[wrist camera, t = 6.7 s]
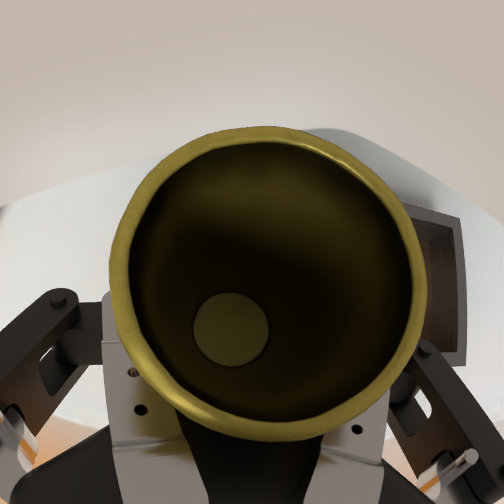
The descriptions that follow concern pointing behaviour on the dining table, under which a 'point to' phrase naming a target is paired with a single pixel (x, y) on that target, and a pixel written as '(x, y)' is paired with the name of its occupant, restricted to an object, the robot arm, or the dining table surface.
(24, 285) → the dining table surface
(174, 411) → the robot arm
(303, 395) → the vase
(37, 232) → the dining table surface
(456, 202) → the dining table surface
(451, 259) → the square grey tray
